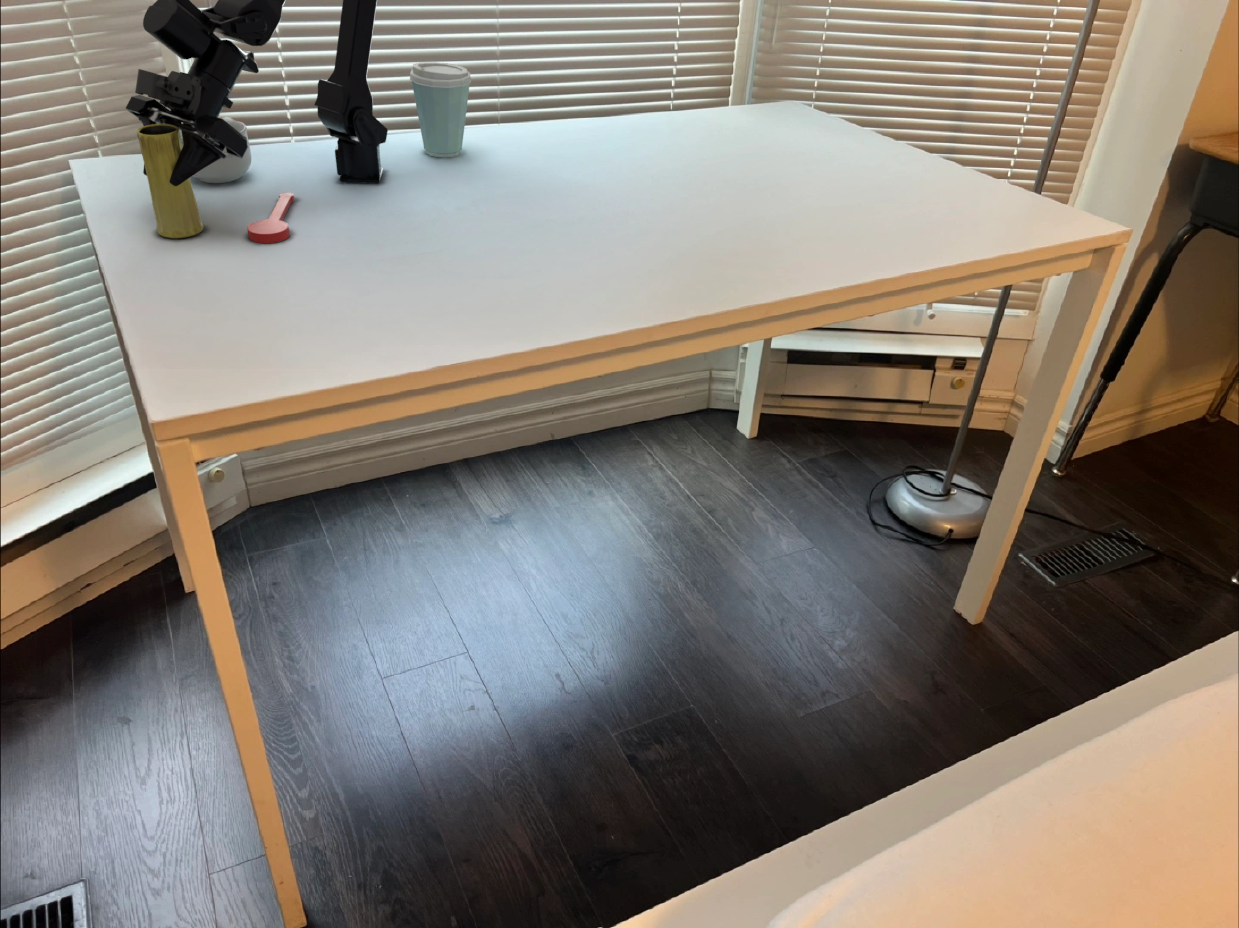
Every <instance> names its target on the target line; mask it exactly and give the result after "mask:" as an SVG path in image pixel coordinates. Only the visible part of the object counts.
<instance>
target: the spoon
mask: <svg viewBox="0 0 1239 928" xmlns="http://www.w3.org/2000/svg"><path fill="white" fill-rule="evenodd" d="M295 201H296V199H295V194H294V193H292V192H287V191H286V192H281V193H279V194H278V200H277V202H276V204H275V205H274V207H273V208H272V211H271V213H270V214H269V217H268V219H262V220H256V221H253V222H251V223H249V224H248V225H247V227H246V229H247V235H248V239H249V240H250V241H252V242H254V243H258V244H275V243H280V242H282V241H286V240H287V239H289V238H290V235H291V234H290V226H289V223H287V222H286V221H283V220H284V219H285V217H286V215H287V213H288V210H289V209H290V206H291V204H293V203H294V202H295Z"/></svg>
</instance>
